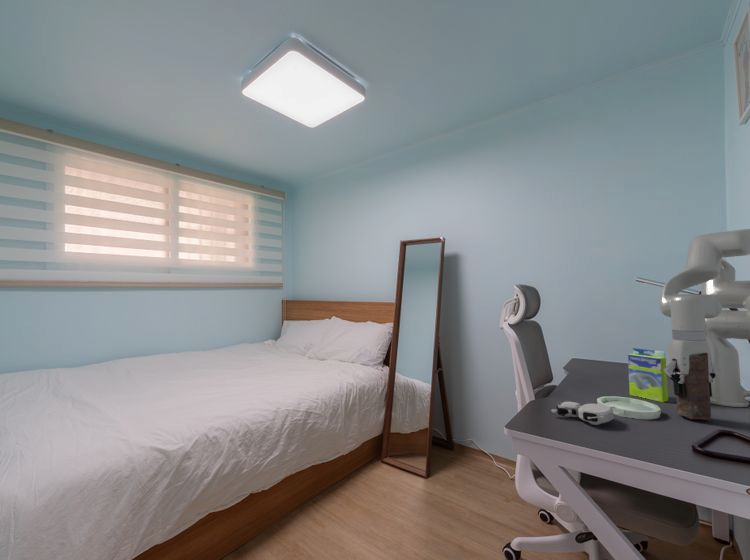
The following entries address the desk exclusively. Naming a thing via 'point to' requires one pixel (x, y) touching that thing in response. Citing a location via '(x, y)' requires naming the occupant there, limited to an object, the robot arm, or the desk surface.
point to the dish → (631, 407)
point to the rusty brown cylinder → (696, 390)
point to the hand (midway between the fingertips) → (692, 395)
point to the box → (648, 375)
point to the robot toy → (586, 412)
